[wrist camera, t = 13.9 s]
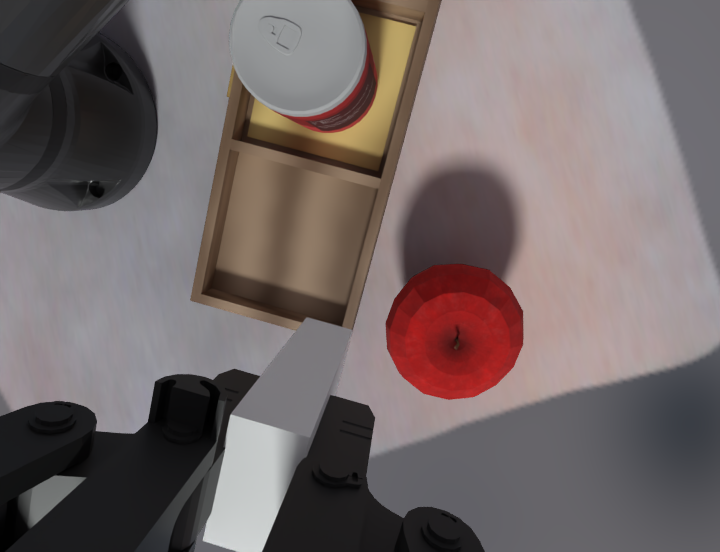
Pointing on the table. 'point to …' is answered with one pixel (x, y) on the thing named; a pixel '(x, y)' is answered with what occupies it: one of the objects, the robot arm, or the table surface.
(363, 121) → the caddy
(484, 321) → the apple
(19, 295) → the table surface
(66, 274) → the table surface
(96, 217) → the table surface
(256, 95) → the canned food
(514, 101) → the table surface
